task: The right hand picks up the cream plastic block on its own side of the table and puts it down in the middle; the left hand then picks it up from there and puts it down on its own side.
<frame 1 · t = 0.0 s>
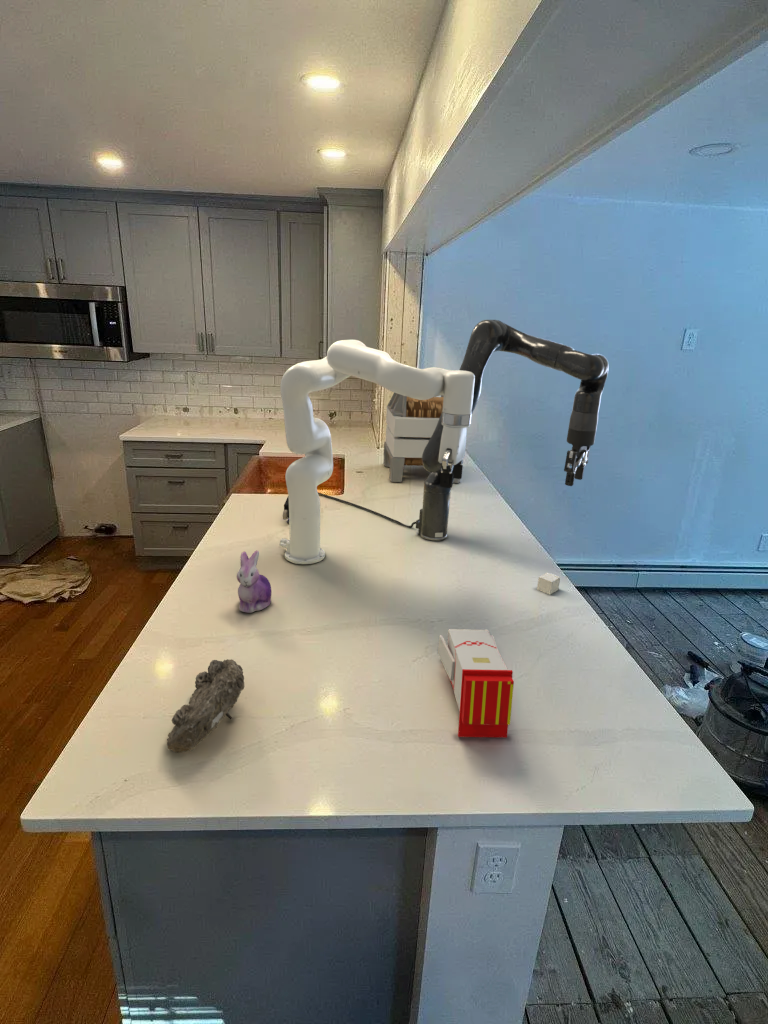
left hand: (450, 482, 153), 31 cm above the counter, tool pointing down, fingers open, 9 cm apart
right hand: (573, 482, 165), 29 cm above the counter, tool pointing down, fingers open, 8 cm apart
white wooden crate: (419, 473, 275), on the counter
figurine character: (294, 519, 209), on the counter
fossil: (212, 717, 108), on the counter
block: (547, 589, 164), on the counter
toy: (469, 691, 119), on the counter
figurine: (255, 605, 149), on the counter
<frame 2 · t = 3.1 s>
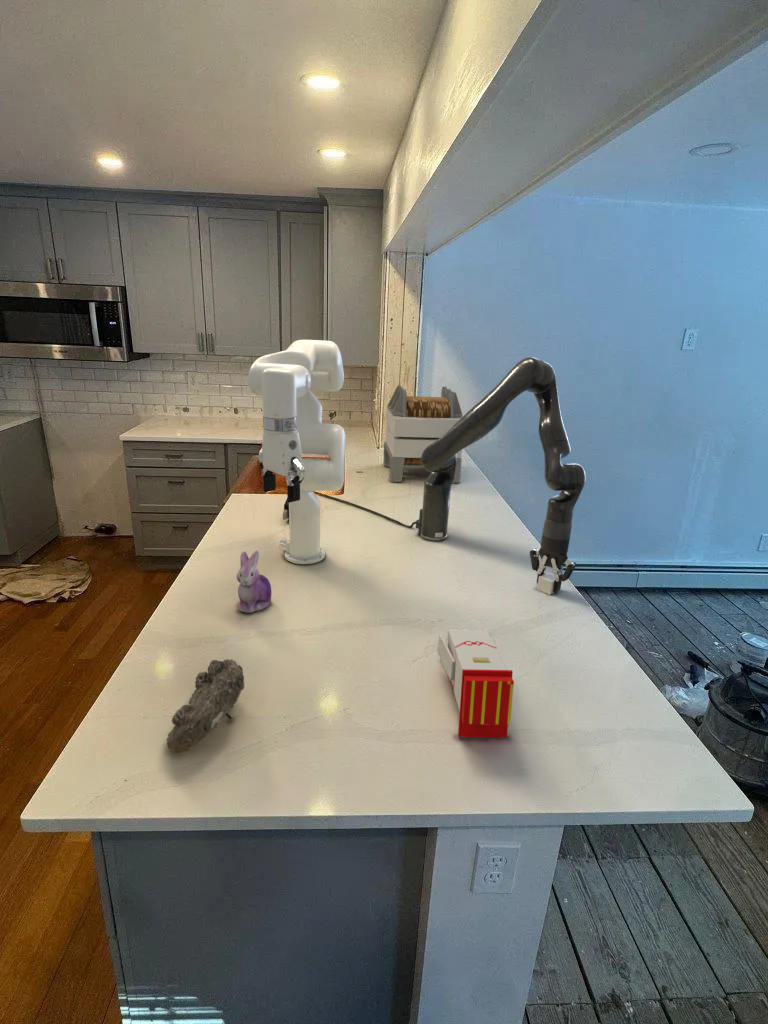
left hand: (281, 495, 134), 32 cm above the counter, tool pointing down, fingers open, 9 cm apart
right hand: (547, 588, 164), 0 cm above the counter, tool pointing down, fingers closed on block, 4 cm apart
block: (547, 589, 164), on the counter, touching right hand
everything else where it was.
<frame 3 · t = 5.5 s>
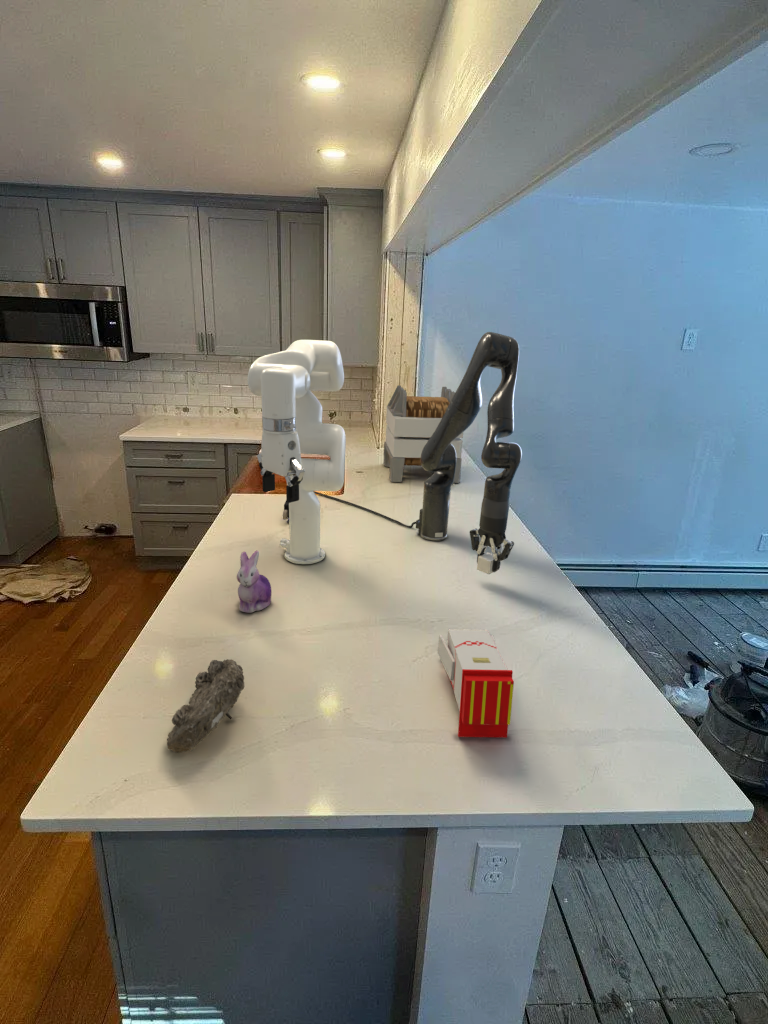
left hand: (280, 496, 134), 32 cm above the counter, tool pointing down, fingers open, 9 cm apart
right hand: (487, 568, 164), 5 cm above the counter, tool pointing down, fingers closed on block, 4 cm apart
block: (487, 569, 164), point 5 cm above the counter, touching right hand
everything else where it was.
when the right hand's fingers open (1 cm above the counter, at t = 8.1 s): block stays where it is, on the counter.
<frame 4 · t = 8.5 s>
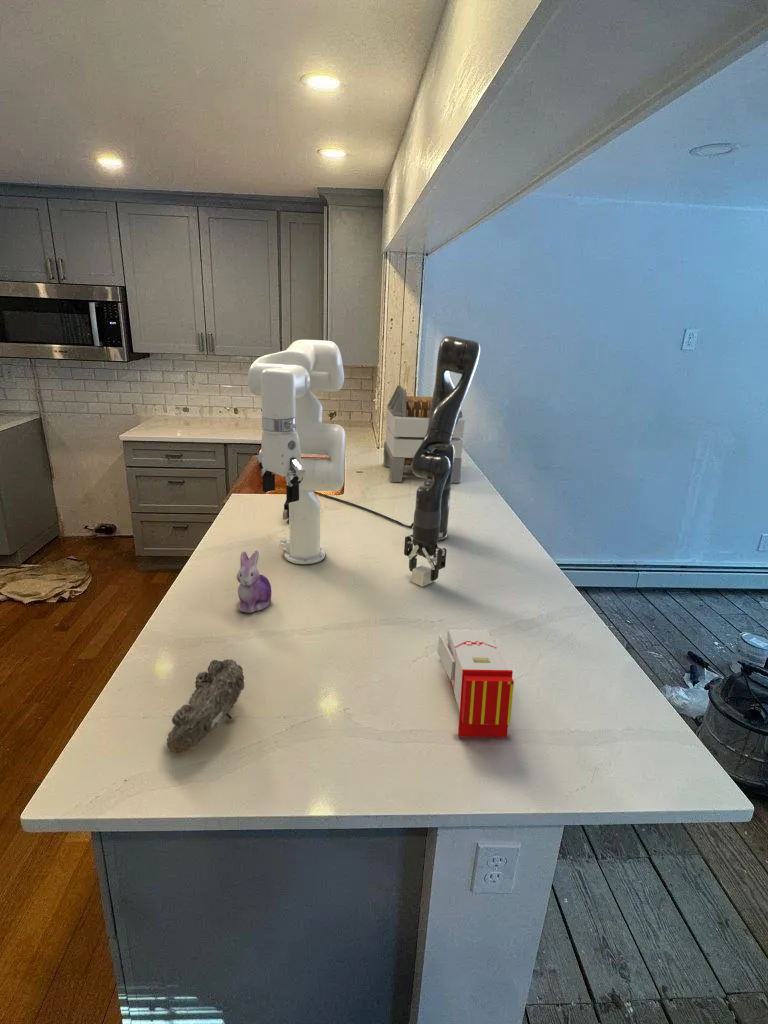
left hand: (280, 496, 134), 32 cm above the counter, tool pointing down, fingers open, 9 cm apart
right hand: (423, 575, 165), 2 cm above the counter, tool pointing down, fingers open, 7 cm apart
block: (422, 581, 166), on the counter
everything else where it was.
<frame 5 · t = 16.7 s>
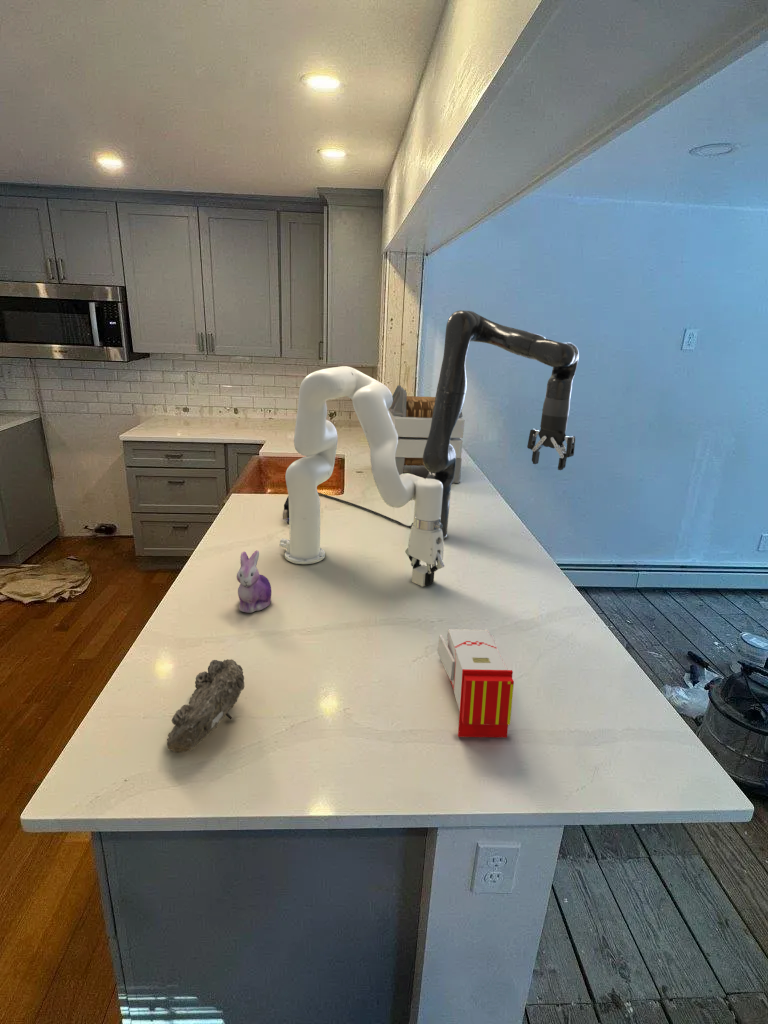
left hand: (422, 580, 165), 0 cm above the counter, tool pointing down, fingers closed on block, 4 cm apart
right hand: (547, 466, 172), 32 cm above the counter, tool pointing down, fingers open, 8 cm apart
block: (422, 581, 166), on the counter, touching left hand
everything else where it was.
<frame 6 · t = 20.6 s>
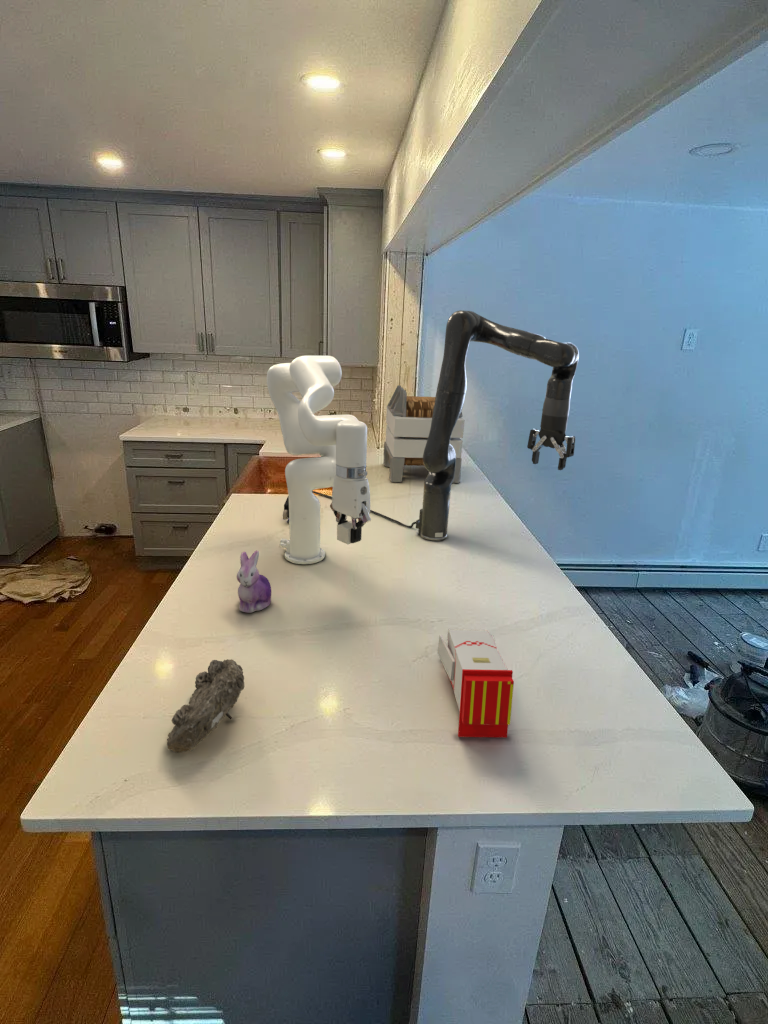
left hand: (349, 538, 147), 18 cm above the counter, tool pointing down, fingers closed on block, 4 cm apart
right hand: (547, 466, 172), 32 cm above the counter, tool pointing down, fingers open, 8 cm apart
block: (349, 539, 147), point 18 cm above the counter, touching left hand
everything else where it was.
when the left hand's fingers open (1 cm above the counter, at t = 24.6 s): block stays where it is, on the counter.
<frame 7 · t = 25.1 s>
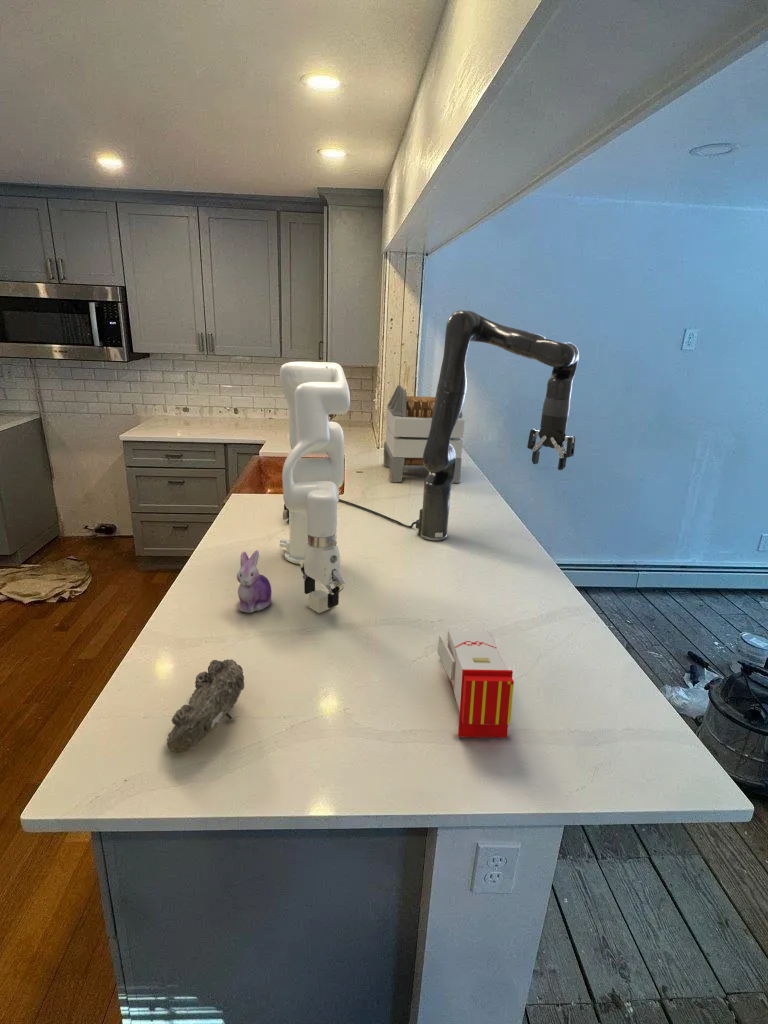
left hand: (321, 599, 148), 2 cm above the counter, tool pointing down, fingers open, 9 cm apart
right hand: (547, 466, 172), 32 cm above the counter, tool pointing down, fingers open, 8 cm apart
block: (321, 607, 149), on the counter
everything else where it was.
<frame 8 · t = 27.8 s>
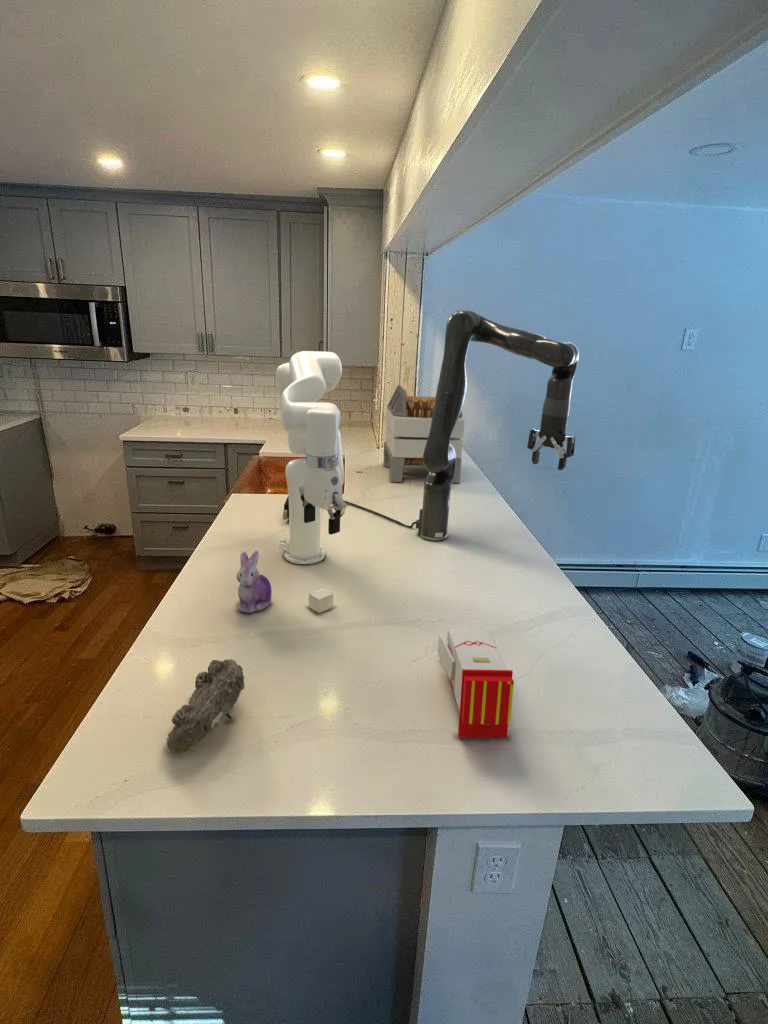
left hand: (321, 527, 141), 23 cm above the counter, tool pointing down, fingers open, 9 cm apart
right hand: (547, 466, 172), 32 cm above the counter, tool pointing down, fingers open, 8 cm apart
nothing on the counter moved.
at the end: block inside the target area (0.1 cm from its centre), on the counter; block tilted 0°; the two hands never held the block at the same time; the left hand is holding nothing; the right hand is holding nothing; block at rest at the end (0.0 cm/s) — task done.
